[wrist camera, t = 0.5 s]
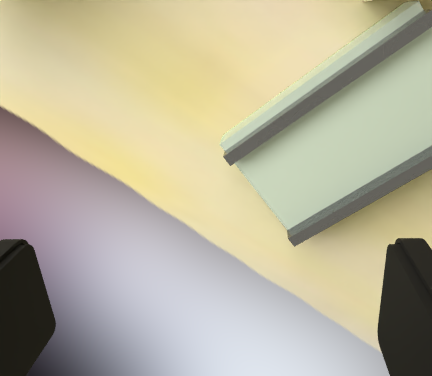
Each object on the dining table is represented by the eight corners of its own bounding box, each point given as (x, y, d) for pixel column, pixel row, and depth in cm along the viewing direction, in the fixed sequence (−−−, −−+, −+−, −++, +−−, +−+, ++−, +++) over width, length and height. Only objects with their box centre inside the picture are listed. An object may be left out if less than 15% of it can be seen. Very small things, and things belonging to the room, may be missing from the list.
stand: (405, 2, 31) (426, 0, 27) (474, 123, 34) (502, 138, 30) (222, 134, 37) (217, 149, 33) (295, 227, 40) (299, 252, 36)
